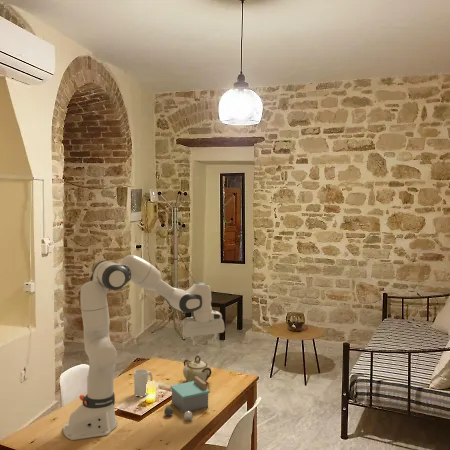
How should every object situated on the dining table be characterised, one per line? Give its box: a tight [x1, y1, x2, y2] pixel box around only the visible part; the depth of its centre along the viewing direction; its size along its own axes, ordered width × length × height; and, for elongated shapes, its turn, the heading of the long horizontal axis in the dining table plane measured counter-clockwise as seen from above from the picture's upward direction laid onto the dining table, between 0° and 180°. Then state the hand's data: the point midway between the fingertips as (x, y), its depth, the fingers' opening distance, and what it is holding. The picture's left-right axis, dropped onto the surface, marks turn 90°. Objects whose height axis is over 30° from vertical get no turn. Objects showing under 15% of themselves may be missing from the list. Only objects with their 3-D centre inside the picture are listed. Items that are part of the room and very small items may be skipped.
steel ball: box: [183, 411, 194, 421], centre depth 216 cm, size 4×4×4 cm
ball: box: [164, 406, 174, 417], centre depth 220 cm, size 4×4×4 cm
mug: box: [133, 368, 154, 397], centre depth 242 cm, size 10×7×12 cm, turn 130°
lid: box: [170, 376, 211, 399], centre depth 230 cm, size 14×14×4 cm
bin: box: [171, 389, 209, 415], centre depth 231 cm, size 13×13×7 cm
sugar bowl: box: [182, 355, 212, 383], centre depth 257 cm, size 20×15×15 cm
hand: (204, 343), depth 233 cm, fingers open, 8 cm apart
